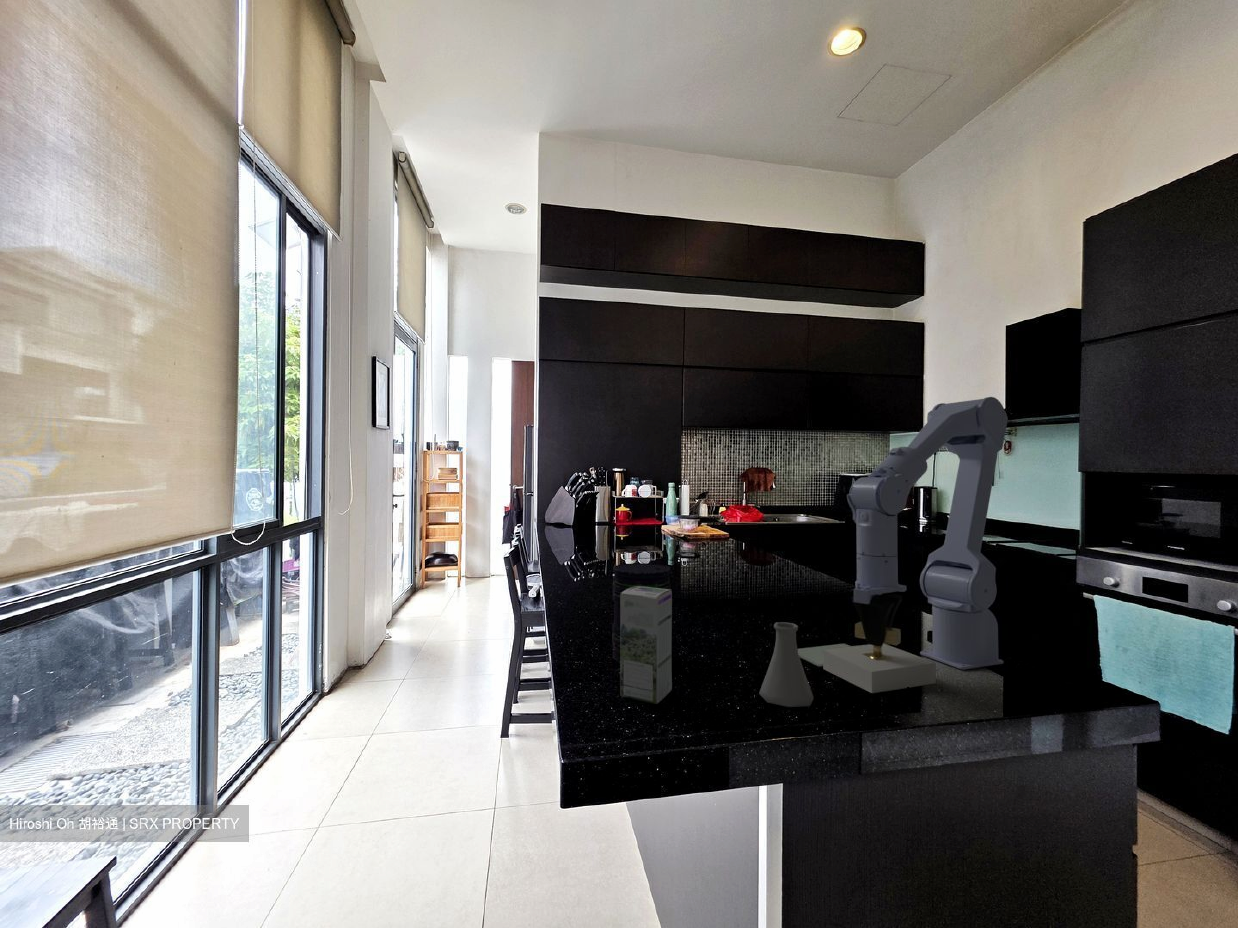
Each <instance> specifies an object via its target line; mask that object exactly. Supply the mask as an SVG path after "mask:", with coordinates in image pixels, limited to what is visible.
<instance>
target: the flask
mask: <svg viewBox="0 0 1238 928" xmlns="http://www.w3.org/2000/svg"><path fill="white" fill-rule="evenodd" d="M773 628H774V629H775V644H774V647H773V648H774V649H773V653H772V657H771V659H770V662H769V666H768V669H767V671H766V673H765V674H766V675H765V676H764V679H763V682H762V684H761V686H760V687H761V688H760V690H759V693H758V694H759V696H761V697H762V698H763V699H764V701H765V702H766V703H768V704H774V705H779V706H783V707H787V708H794V707H795V708H796V707H798V708H799V707H811V704H812V703H813V701H814V695H813V691H812V688H811V687H810V684H809V681H808V679H807V676H806V672H805V670H804V666H803V664H802V660H801V658H800V657H799V654H798V649H799V648H798V645H797V631H798V630H799V626H798V625H797V624H795V623H792V622H786V621H785V622H780V621H779V622H777V621H776V622H775V623H774V624H773Z"/></svg>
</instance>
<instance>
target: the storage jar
mask: <svg viewBox="0 0 1238 928" xmlns="http://www.w3.org/2000/svg"><path fill="white" fill-rule="evenodd" d="M670 571H671V569H670V567H669V566H667V565H663V564H657V563H643V562H640V563H639V562H635V563H633V562H630V563H622V564H617V565H614V566H613V569H612V572H613V575H612V576H613V577H612V578H613V580H612V581H613V582H612V595H611V596H612V600H613V603H614V607H613V608H614V609H613V610H614V611H613V613H614V617H613V619H614V620H613V623H612V627H611V630H612V634H611V641H612V648H613V651H612V659H614V660H615V661H616V662H617V663H620V595H621V593H622V592H623V591H625V590H626V589H628V588H631V587H634V586H642V587H651V588H661V589H670V590H671V583H670V579H671V578H670V577H671V576H670V574H671V573H670Z"/></svg>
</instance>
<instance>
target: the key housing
mask: <svg viewBox="0 0 1238 928" xmlns="http://www.w3.org/2000/svg"><path fill="white" fill-rule="evenodd" d="M869 654H873V645H870V644H862V645H853V646H851V647H844V648H835V649H827V650H823V666H822V667H823V670H825V671H827V672H829V673H831V674H833V675H835V676H837V677H839V678H840V679H843V680H845V681H847V682H848V683H850V684H853V685H854V686H856V687H859V688H860V689H863V690H865V691H867V692H869V693H870V694H875V693H876V694H877V693H882V692H889V691H895V690H901V689H908V688H907V687H909V688H914V687H915V688H916V687H921V686H926V685H934V684H936V683H937V664H936V662H934V661H932V660H929V659H926V658H924V657H921V656H918V655H916V654H912V653H911V652H908V651H905V650H902V649H900V648H897V647H894V646H891V645H890V644H887V643H883V645H882V655H884V656H886V660H879V661H877V660H875V659H872V658H870V657H869Z"/></svg>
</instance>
